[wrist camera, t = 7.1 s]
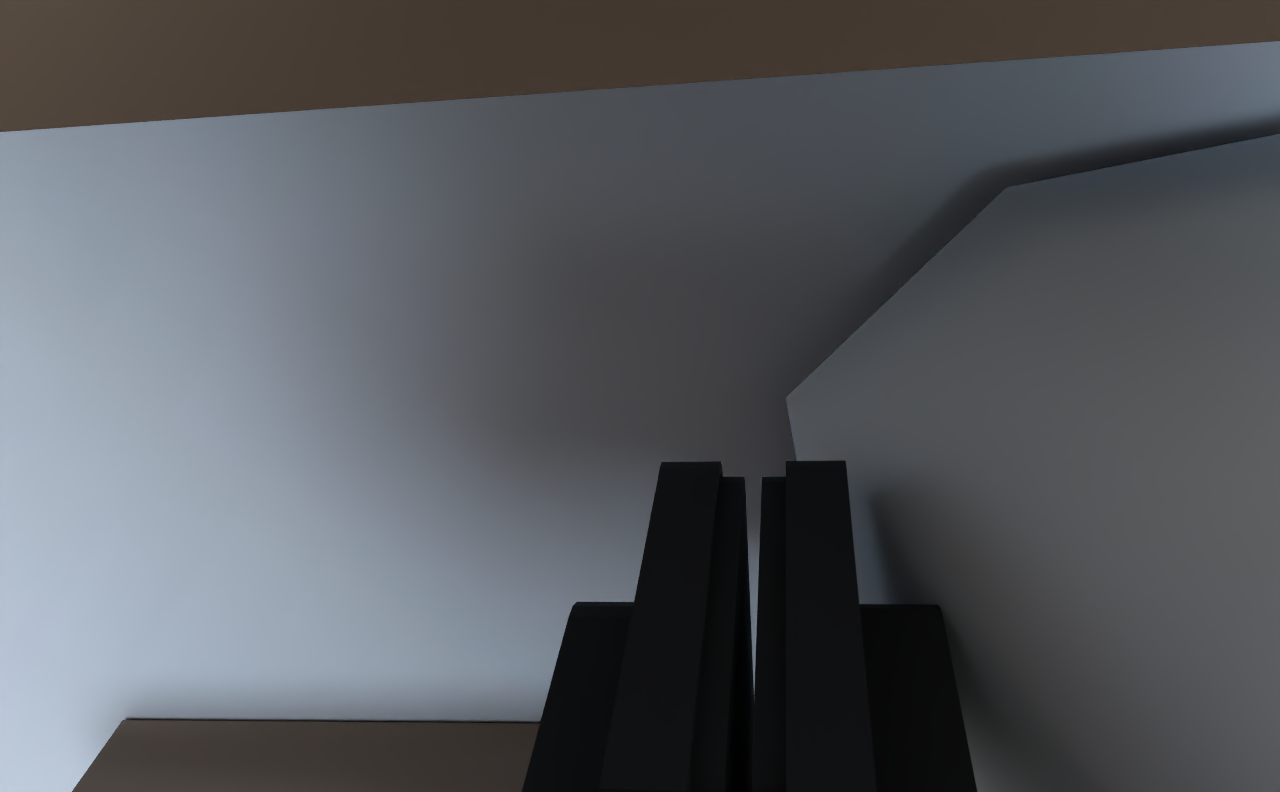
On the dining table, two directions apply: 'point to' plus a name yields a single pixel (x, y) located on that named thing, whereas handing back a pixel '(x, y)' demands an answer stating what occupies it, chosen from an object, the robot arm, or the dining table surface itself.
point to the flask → (1084, 471)
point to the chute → (462, 69)
